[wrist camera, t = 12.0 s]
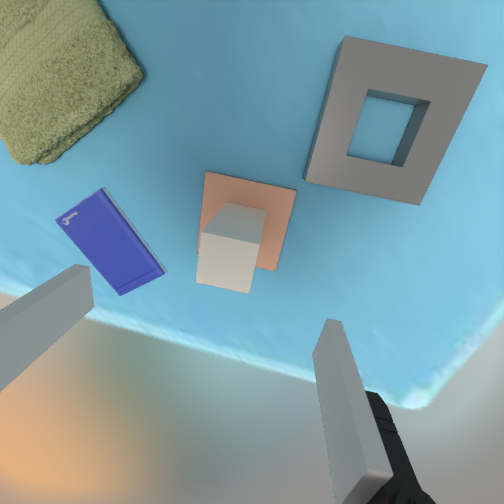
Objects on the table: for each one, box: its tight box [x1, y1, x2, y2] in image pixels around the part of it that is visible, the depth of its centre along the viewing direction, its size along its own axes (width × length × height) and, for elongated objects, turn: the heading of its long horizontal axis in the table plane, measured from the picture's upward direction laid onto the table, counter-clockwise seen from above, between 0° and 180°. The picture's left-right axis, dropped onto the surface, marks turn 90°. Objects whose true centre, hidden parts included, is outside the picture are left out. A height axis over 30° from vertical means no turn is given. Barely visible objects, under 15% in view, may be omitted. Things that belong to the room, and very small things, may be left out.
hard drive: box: [55, 188, 167, 296], centre depth 32 cm, size 2×8×12 cm
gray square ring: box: [303, 36, 488, 206], centre depth 23 cm, size 11×11×2 cm
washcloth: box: [0, 0, 143, 166], centre depth 23 cm, size 13×18×3 cm
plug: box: [196, 202, 266, 294], centre depth 24 cm, size 4×4×10 cm
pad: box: [197, 171, 297, 271], centre depth 29 cm, size 10×10×1 cm
